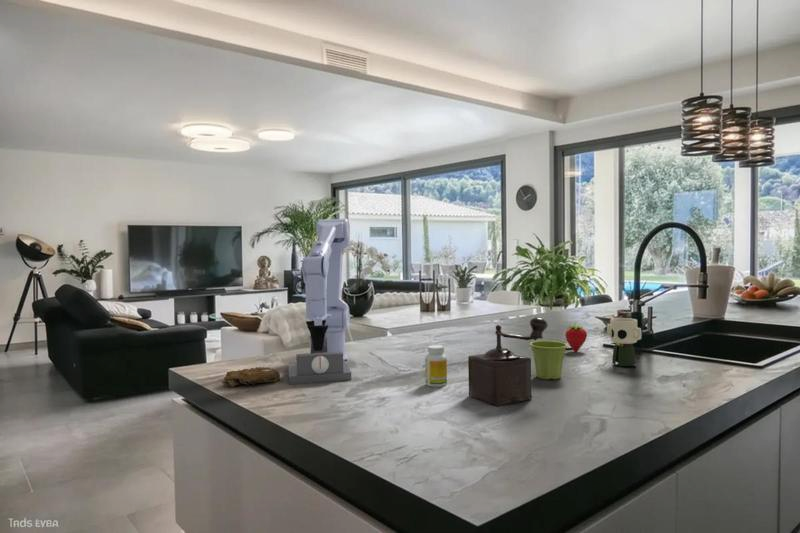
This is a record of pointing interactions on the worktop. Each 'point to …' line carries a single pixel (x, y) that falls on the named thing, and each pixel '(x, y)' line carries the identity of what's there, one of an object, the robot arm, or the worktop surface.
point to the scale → (318, 368)
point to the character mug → (623, 340)
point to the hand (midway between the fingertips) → (317, 348)
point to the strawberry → (576, 337)
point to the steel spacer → (323, 346)
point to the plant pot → (548, 358)
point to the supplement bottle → (436, 366)
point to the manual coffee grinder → (503, 371)
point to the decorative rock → (251, 376)
